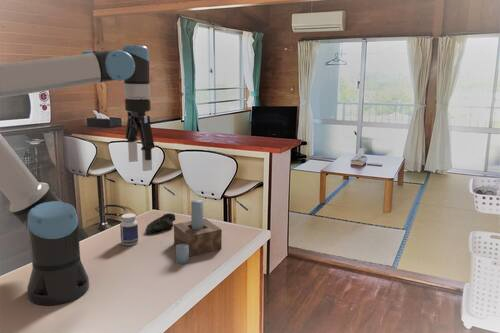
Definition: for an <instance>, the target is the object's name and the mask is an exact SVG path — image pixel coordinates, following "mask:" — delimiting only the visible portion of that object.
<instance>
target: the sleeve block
mask: <svg viewBox="0 0 500 333" xmlns="http://www.w3.org/2000/svg"><path fill="white" fill-rule="evenodd" d="M222 234H223V233H222V228H220V226H217V225H216V224H215V223H213V222H212V221H210V220H208V219H207V218H206V217H205V218H203V229H201V230H196V231H193V230H192V226H191V220H189V221H184V222H180V223H175V224H174V223H173V243H174V245H175V246H176V245H178V244H187V245H189V257H193V256H198V255H201V254H205V253H209V252H210V253H211V252H215V251H217V250H221V249H222V246H223V244H222V242H223V241H222V238H223V237H222V236H223V235H222Z"/></svg>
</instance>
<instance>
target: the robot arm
mask: <svg viewBox="0 0 500 333" xmlns="http://www.w3.org/2000/svg"><path fill="white" fill-rule="evenodd" d="M112 81H117V82H118V81H119V82H121V81H123V83H124V84H123V89H124V90H123V91H124V92H123V93H124V97H126V98H125V99H124V107H125V109H124V110H125V111H126V112H127V122H126V130H125V139H126V141H127V142H128V143H127V147H128V148H127V149H128V162H129V163H132V162H133V163H135V162H138V161H139V159H138V141H139V140H138V134H139V139H140V142H141V145H142V146H141V149H140V150H141V154H142V155H141V159H142V160H141V161H142V162H141V164H142V171H143V172H148V171H153V157H152V156H153V151H152V150H153V149H155V143H154V142H155V141H154V136H153V131H152V126H151V117H150V115H146V112H150V111H151V106H152V105H151V99H150V98H149V97H151V90H152V87H151V86H150V83H151V82H150V53H149V48H148V47H147V46H146V45H141V44H139V45H134V44H132V45H131V44H126V45H123V46H122V50H121V49H115V50H93V49H91V50H84V51H81V53H80V54H74V55H65V56H64V55H63V56H55V57H47V58H46V57H45V58H38V59H32V60H31V59H30V60H23V61H14V62H6V63H3V62H2V63H0V99H2V98H3V99H4V98H8V97H14V96H15V97H16V96H21V95H27V94H29V95H30V94H35V93H41V92H47V91H48V92H49V91H54V90H59V89H61V90H62V89H65V88H72V87H79V86H80V87H81V86H85V85H92V84H99V83H105V82H112ZM0 191H1V193H2V194H3V195H4V196H5V197H6V199H8V201H9V202H10V205H9V212H10V213H11V214H12V215H13V216H14V218H16V220H17V221H18V222H19V224H20V225H21V226H22V227H23V228H24V229H25V231H26V234H27V237H28V239H29V240H28V241H29V245H30V246H29V247H30V255H31V262H32V270H31V273H30V277H29V281H28V285H27V298H28V300H29V301H30V302H31V303H33V304H36V305H40V306H56V305H62V304H66V303H70V302H72V301H74V300H76V299H78V298H80V297H82V296H83V295H85V294H86V293H87V292H88V291H89V288H90V280H89V279H90V278H89V275H88V274H87V272H86V269H85V267H84V264H83V263H82V260H81V252H80V251H81V249H80V247H81V246H80V237H79V236H80V235H79V216H78V213H77V210H76V208H75V206H74V205H72V204H70V203H69V202H68V203H67V202H63V201H62V200H61V199H60V198H58V197H57V195H56V194H55V193H54V191H53V190H52V188H50V186H49V185H48V184H43V183H40V182H39V181H38V180H37V179H36V177H35V176H34V175H33V173H32V172H31V171H30V170H29V168H28V167H27V166H26V165H25V163H24V161H23V160H22V159H21V158H20V157H19V155H18V154H17V153H16V151H14V149H13V148H12V147H11V145H10V144H9V142H8V141H7V140H6V139H5V138H4V136H3V135H2V134H1V133H0Z"/></svg>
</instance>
